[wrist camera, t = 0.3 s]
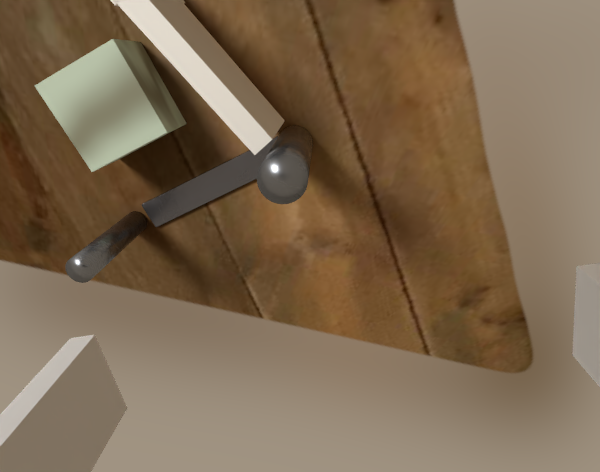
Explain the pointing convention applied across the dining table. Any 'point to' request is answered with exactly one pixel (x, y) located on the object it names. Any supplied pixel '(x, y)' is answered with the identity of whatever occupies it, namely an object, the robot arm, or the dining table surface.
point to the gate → (206, 68)
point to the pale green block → (111, 102)
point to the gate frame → (208, 195)
